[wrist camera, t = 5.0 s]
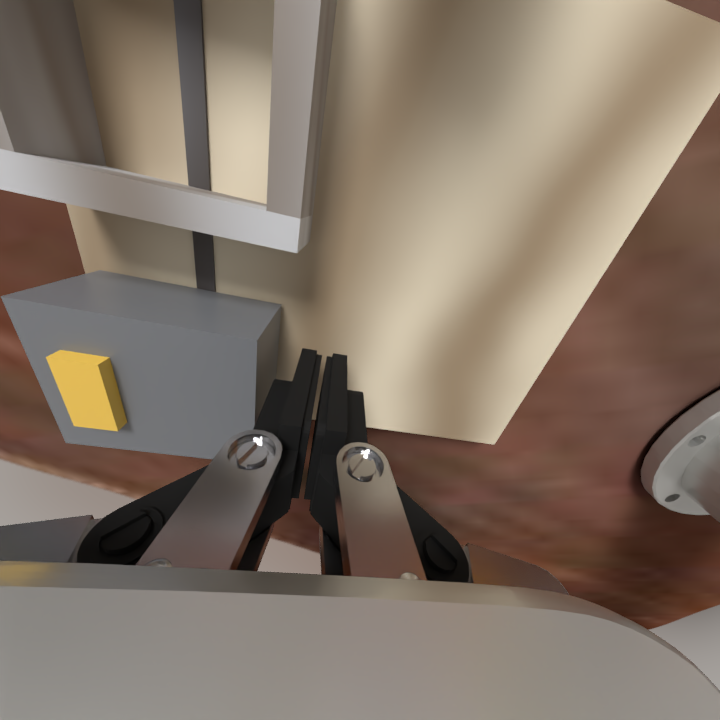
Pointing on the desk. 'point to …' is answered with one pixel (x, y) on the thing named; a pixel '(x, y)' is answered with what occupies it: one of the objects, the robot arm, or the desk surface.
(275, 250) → the panel
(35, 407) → the desk surface
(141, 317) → the block
